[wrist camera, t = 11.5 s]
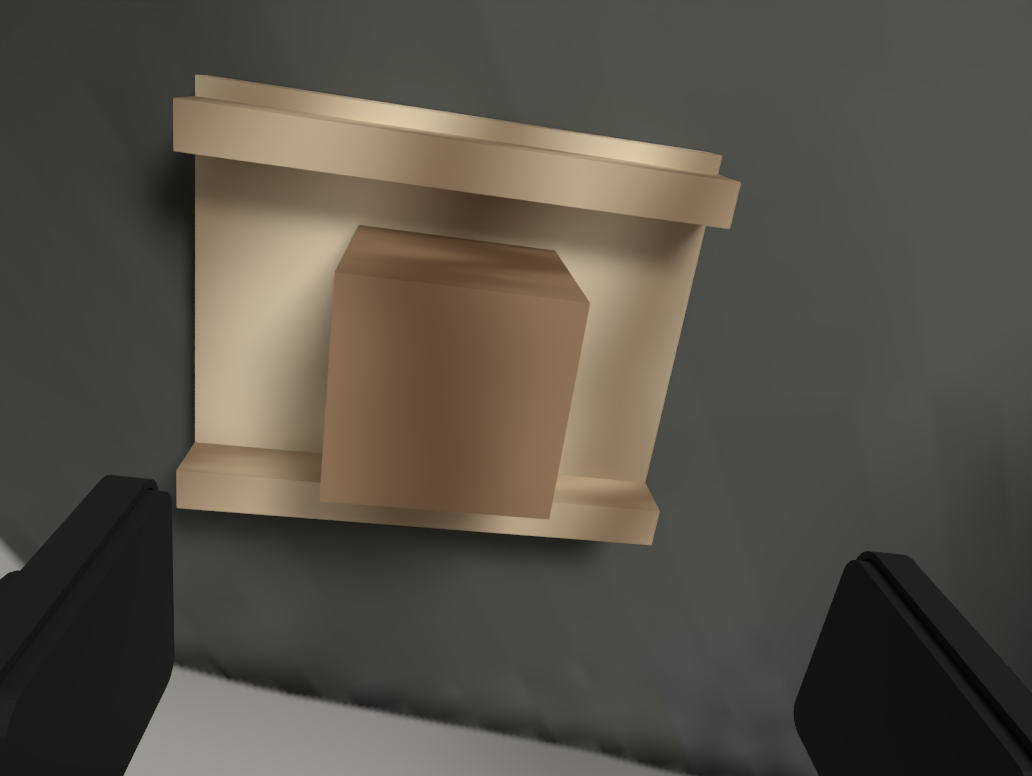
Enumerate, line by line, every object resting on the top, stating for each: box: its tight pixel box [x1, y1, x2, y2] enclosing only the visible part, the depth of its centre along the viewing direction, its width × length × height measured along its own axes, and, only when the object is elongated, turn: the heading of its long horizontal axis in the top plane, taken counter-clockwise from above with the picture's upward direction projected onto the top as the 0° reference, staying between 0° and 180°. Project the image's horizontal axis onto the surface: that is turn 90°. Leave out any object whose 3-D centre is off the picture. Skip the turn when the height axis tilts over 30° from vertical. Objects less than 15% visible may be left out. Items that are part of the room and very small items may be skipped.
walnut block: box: [320, 225, 590, 520], centre depth 20 cm, size 6×6×6 cm
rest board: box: [173, 75, 741, 545], centre depth 22 cm, size 14×12×3 cm
